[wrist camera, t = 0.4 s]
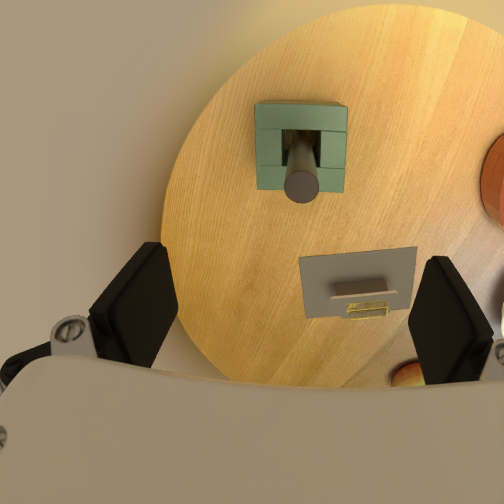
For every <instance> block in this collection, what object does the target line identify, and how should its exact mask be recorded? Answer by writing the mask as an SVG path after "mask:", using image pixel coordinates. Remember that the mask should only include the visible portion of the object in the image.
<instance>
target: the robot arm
mask: <svg viewBox="0 0 504 504" xmlns="http://www.w3.org/2000/svg"><path fill="white" fill-rule="evenodd" d="M177 312H178V302H177V297H176V293H175V288H174V283H173V278H172V273H171V268H170V263H169V258H168V253H167V249H166V247H165V246H163V245H162V244H161V243H160V242H145V243H144V244H143V245H142V246H141V247H140V248H139V249H138V251H137V252H136V253H135V254H134V255H133V256H132V258H131V259H130V260H129V261H128V262H127V263H126V265H125V266H124V267H123V268H122V269H121V271H120V272H119V273H118V274H117V275H116V277H115V278H114V279H113V280H112V281H111V283H110V284H109V285H108V287H107V288H106V289H105V290H104V291H103V293H102V294H101V295H100V297H99V298H98V299H97V300H96V302H95V303H94V304H93V305H92V307H91V308H90V309H89V313H90V315H89V316H88V318H85V317H84V316H80V315H73V316H68V317H66V318H64V319H62V320H60V321H59V322H58V323H57V324H56V325H55V326H54V327H53V329H52V331H51V335H50V339H51V340H50V341H49V342H46V343H44V344H41V345H39V346H36V347H34V348H31V349H29V350H26V351H24V352H21V353H19V354H16V355H14V356H12V357H10V358H9V359H7V360H6V362H5V363H4V364H3V366H2V368H1V370H0V504H504V339H499V340H496V341H495V342H494V341H493V339H492V336H493V334H494V332H493V330H492V328H491V326H490V324H489V322H488V321H487V319H486V317H485V315H484V313H483V312H482V310H481V308H480V306H479V305H478V303H477V301H476V300H475V298H474V296H473V295H472V293H471V291H470V290H469V288H468V286H467V285H466V283H465V282H464V280H463V279H462V277H461V275H460V274H459V272H458V271H457V269H456V268H455V266H454V265H453V263H452V262H451V260H450V259H449V258H448V257H447V256H432V258H431V259H429V260H427V262H426V265H425V269H424V272H423V275H422V279H421V282H420V285H419V288H418V292H417V295H416V298H415V301H414V304H413V307H412V309H411V312H410V315H409V319H408V326H409V330H410V333H411V336H412V339H413V342H414V346H415V349H416V352H417V356H418V359H419V363H420V367H421V370H422V374H423V378H424V381H425V385H421V386H405V387H382V388H323V387H299V386H282V385H269V384H257V383H247V382H237V381H228V380H219V379H213V378H205V377H198V376H192V375H185V374H179V373H173V372H168V371H162V370H156V369H151V366H152V364H153V362H154V360H155V358H156V356H157V354H158V352H159V349H160V347H161V345H162V343H163V341H164V339H165V337H166V335H167V333H168V331H169V329H170V327H171V325H172V322H173V321H174V319H175V317H176V315H177Z"/></svg>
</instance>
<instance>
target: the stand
mask: <svg viewBox="0 0 504 504" xmlns="http://www.w3.org/2000/svg"><path fill="white" fill-rule="evenodd" d="M254 110H255V142H256V165H257V166H256V174H257V190H284V181H285V175H286V169H287V163H288V157H289V150H285V129H294V130H316V151H313V154H314V159H315V165H316V170H317V176H318V182H319V192H335V193H343V191H344V178H345V163H346V145H347V121H348V107H347V106H345V105H342V104H340V103H338V102H325V101H304V100H263V101H261V102H258V103H256V104H254Z"/></svg>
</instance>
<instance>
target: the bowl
mask: <svg viewBox="0 0 504 504" xmlns="http://www.w3.org/2000/svg"><path fill="white" fill-rule="evenodd" d="M501 333H502V336H503V338H504V303H503V306H502V322H501Z"/></svg>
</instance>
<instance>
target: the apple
mask: <svg viewBox="0 0 504 504" xmlns="http://www.w3.org/2000/svg"><path fill="white" fill-rule="evenodd" d="M421 385H425V381H424V378H423V374H422V370H421V367H420V363H413V364H409V365H407V366H405V367H403V368H402V369H400V370H399V371H398V372H397V373H396V375H395V376H394V377H393V380H392V383H391V387H405V386H421Z"/></svg>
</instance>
